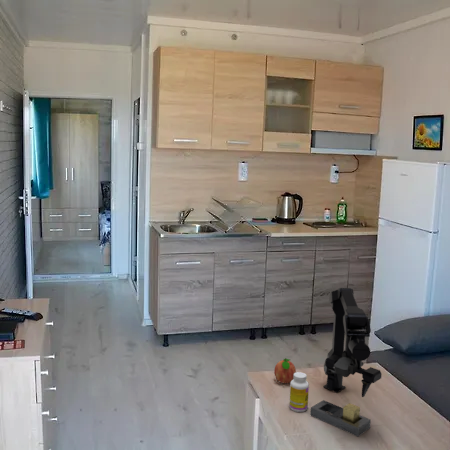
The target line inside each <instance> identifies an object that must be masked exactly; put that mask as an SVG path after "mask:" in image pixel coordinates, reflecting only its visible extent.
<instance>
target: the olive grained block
mask: <svg viewBox="0 0 450 450" xmlns="http://www.w3.org/2000/svg"><path fill="white" fill-rule="evenodd" d="M342 408H343V420H346V421H348V422H350V423H353V424H355V423H356V422H358V421H359V415H361V412H360V411H361V407H360V406H357V405H356V404H353V403H351V402H349V403H348V404H347V403H346V405H344V406H342Z"/></svg>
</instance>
